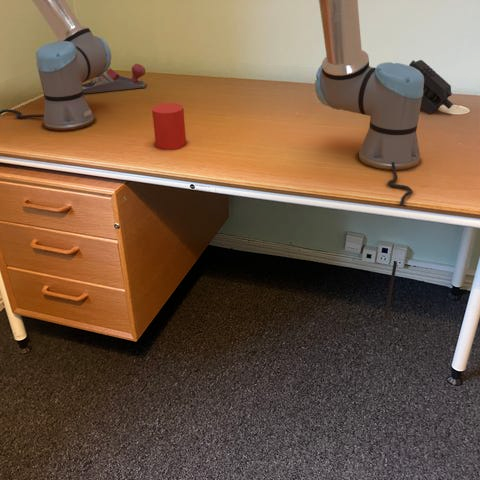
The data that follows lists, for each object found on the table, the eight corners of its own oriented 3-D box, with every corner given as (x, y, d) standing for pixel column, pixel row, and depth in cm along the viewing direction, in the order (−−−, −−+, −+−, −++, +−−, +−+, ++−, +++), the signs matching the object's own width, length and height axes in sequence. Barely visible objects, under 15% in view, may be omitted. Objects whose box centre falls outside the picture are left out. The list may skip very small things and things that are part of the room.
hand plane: (62, 90, 197) (53, 48, 189) (145, 82, 205) (140, 41, 197) (62, 96, 191) (54, 53, 184) (148, 87, 199) (143, 45, 191)
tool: (390, 90, 180) (417, 54, 169) (433, 128, 176) (464, 93, 165) (382, 95, 176) (409, 57, 165) (425, 133, 172) (456, 97, 161)
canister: (189, 139, 154) (186, 103, 148) (181, 150, 147) (178, 113, 141) (161, 137, 155) (157, 102, 150) (151, 148, 148) (147, 112, 143)
